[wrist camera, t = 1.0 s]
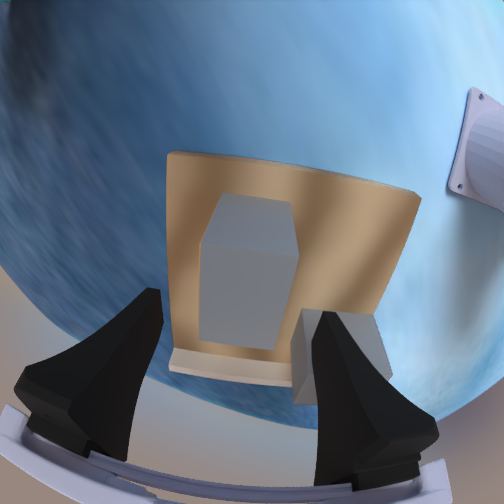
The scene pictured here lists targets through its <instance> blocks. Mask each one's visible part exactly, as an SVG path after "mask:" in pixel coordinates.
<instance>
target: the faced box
mask: <svg viewBox="0 0 504 504" xmlns="http://www.w3.org/2000/svg"><path fill="white" fill-rule="evenodd" d="M323 311H326V310H316V309H307V308H302V309H301V312H300V315H299V318H298V321H297V324H296V327H295V330H294V333H293V336H292V339H291V342H290V347H291V369H292V395H293V404H303V405H318V404H317V396H316V389H315V381H314V375H313V367H312V357H311V340H312V338H313V335H314V333H315V330H316V328H317V325H318V323H319V320H320V317H321V315H322V312H323ZM332 312H336V313H337V314H338V316H339V317H340V319H341V320H342V322H343V323H344V325H345V327H346V328H347V330H348V331H349V333H350V334H351V336H352V337H353V339H354V340H355V342H356V343H357V345H358V346H359V347H360V349H361V350H362V352H363V353H364V354H365V356H366V357H367V358H368V360H369V361H370V362H371V363H372V365H373V366H374V367H375V368H376V369H377V370H378V372H379V373H380V374H381V375H382V376H383V377H384V378H385V379H386V380H387V381H388V380H389V379H390V378H391V377H392V375H393V373H392V370H391V366H390V363H389V360H388V357H387V354H386V351H385V348H384V345H383V342H382V339H381V336H380V333H379V330H378V327H377V324H376V322H375V319H374V316H373V315H372V314H359V313H348V312H337V311H332Z"/></svg>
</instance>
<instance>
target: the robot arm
mask: <svg viewBox="0 0 504 504" xmlns="http://www.w3.org/2000/svg"><path fill="white" fill-rule="evenodd" d="M479 94H480V96H481V99H479ZM459 184H460V187H459V188H458V185H459ZM448 187H449V189H450V190H452V191H453V192H456V193H458V194H461V195H464V196H466V197H469V198H472V199H474V200H477V201H479V202H482V203H484V204H487V205H489V206H491V207H494V208H496V209H499V210H501V211H502V212H503V213H504V106H503V105H502V104H500V103H499V102H498V101H496V100H495V99H493V98H492V97H490V96H489V95H487V94H486V93H484V92H483V91H481V90H480V89H478V88H476V87H471V88H470V90H469V95H468V102H467V107H466V113H465V118H464V123H463V128H462V132H461V137H460V141H459V145H458V149H457V153H456V157H455V161H454V164H453V168H452V171H451V175H450V178H449V181H448ZM163 323H164V320H163V312H162V303H161V294H160V290H159V289H153V288H148V287H147V288H146V289H145V290H144V291H143V292H142V293H141V294H140V295H138V296H137V297H136V298H135V299H134V300H133V301H132V302H131V303H130V304H129V305H128V306H127V307H125V308H124V309H123V310H122V311H121V312H120V313H119V314H117V315H116V316H115V317H114V318H113V319H112V320H110V321H109V322H108V323H107V324H105V325H104V326H103V327H102V328H100V329H99V330H98V331H96V332H95V333H94V334H92V335H91V336H89V337H88V338H86V339H85V340H83V341H81V342H80V343H78V344H76V345H75V346H73V347H71V348H69V349H67V350H66V351H64V352H61V353H59V354H57V355H55V356H53V357H51V358H48V359H46V360H43V361H41V362H37V363H35V364H32V365H29V366H26V367H25V369H24V371H23V373H22V374H21V376H20V378H19V380H18V381H17V383H16V385H15V387H14V392H15V394H16V395H17V397H18V398H19V399H20V400H21V401H22V403H23V404H24V405H25V406H26V407H27V408H28V409H29V410H30V411H31V412H32V413H31V416H30V417H28V416H27V415H26V414H24V413H23V412H21V411H20V410H18V409H16V408H15V407H13V406H11V405H10V404H6V406H5V408H4V410H3V412H2V414H1V416H0V454H1V455H2V456H4V457H5V458H7V459H8V460H9V461H11V462H12V463H13V464H15V465H16V466H18V467H19V468H21V469H22V470H24V471H25V472H27V473H28V474H29V475H31V476H33V477H34V478H36V479H37V480H39V481H41V482H42V483H44V484H46V485H47V486H49V487H51V488H52V489H55V490H56V491H58V492H60V493H62V494H64V495H65V496H67V497H69V498H71V499H73V500H75V501H77V502H80V503H81V504H184V503H178V502H173V501H168V500H163V499H159V498H157V496H156V495H155V494H153V493H151V492H148V491H147V490H146V488H145V487H142V486H139V485H136V484H134V483H131V482H128V481H126V480H129V481H133V482H136V483H139V484H143V485H146V486H150V487H154V488H158V489H162V490H166V491H170V492H175V493H180V494H186V495H190V496H196V497H202V498H209V499H217V500H226V501H235V502H249V503H307V504H451V503H452V502H453V500H452V494H451V488H450V484H449V478H448V473H447V469H446V464H445V460H444V459H443V458H442V459H439V460H436V461H433V462H429V463H426V464H423V465H421V466H419V465H418V461H420V460H421V455H420V452H422V451H423V450H425V449H426V448H427V447H429V446H430V445H432V444H433V443H434V442H436V440H437V439H438V437H439V432H438V428H437V425H436V421H435V419H434V417H432V416H431V415H429V414H428V413H426V412H424V411H423V410H421V409H420V408H418V407H417V406H416V405H414V404H413V403H412V402H410V401H409V400H408V399H407V398H405V397H404V396H403V395H402V394H401V393H399V392H398V391H397V390H396V389H395V388H394V387H393V386H392V385H391V384H390V383H389V382H388V381H387V380H386V379H385V378H384V377H383V376H382V375H381V374H380V373H379V372H378V370H377V369H376V368H375V367H374V366H373V365H372V363H371V362H370V361H369V360H368V358H367V357H366V356H365V354H364V353H363V352H362V350H361V349H360V347H359V346H358V345H357V343H356V342H355V340H354V339H353V337H352V336H351V334H350V333H349V331H348V330H347V328H346V327H345V325H344V323H343V322H342V320H341V319H340V317H339V316H338V314H337V313H336V312H332V311H323V312H322V315H321V317H320V320H319V323H318V325H317V328H316V330H315V333H314V335H313V338H312V340H311V357H312V367H313V375H314V381H315V389H316V396H317V404H318V447H317V462H316V471H315V479H314V486H310V487H259V486H257V487H256V486H242V485H232V484H223V483H215V482H207V481H201V480H195V479H189V478H184V477H179V476H174V475H170V474H165V473H161V472H157V471H153V470H149V469H145V468H141V467H138V466H135V465H132V464H129V463H125V461H126V460H127V453H128V446H129V438H130V432H131V426H132V421H133V416H134V411H135V406H136V403H137V399H138V395H139V391H140V387H141V384H142V381H143V378H144V376H145V373H146V371H147V368H148V366H149V363H150V361H151V359H152V356H153V354H154V351H155V349H156V346H157V344H158V341H159V338H160V334H161V331H162V327H163ZM118 477H120V478H123V479H126V480H123V479H120V478H118ZM309 502H314V503H309Z"/></svg>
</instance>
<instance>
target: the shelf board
mask: <svg viewBox="0 0 504 504" xmlns="http://www.w3.org/2000/svg"><path fill="white" fill-rule="evenodd" d="M222 193H231V194H238V195H246V196H253V197H260V198H267V199H274V200H280V201H287V202H290V204H291V209H292V215H293V221H294V227H295V233H296V239H297V245H298V251H299V260H298V264H297V268H296V271H295V275H294V279H293V283H292V287H291V290H290V294H289V298H288V301H287V305H286V309H285V312H284V316H283V319H282V323H281V326H280V330H279V333H278V337H277V340H276V343H275V347H274V350H265V349H256V348H248V347H240V346H233V345H226V344H219V343H213V342H206V341H200V340H199V328H198V274H199V244H200V242H201V240H202V237H203V235H204V233H205V230H206V228H207V226H208V223H209V221H210V219H211V217H212V214H213V212H214V210H215V208H216V205H217V203H218V202H219V200H220V197H221V195H222ZM421 199H422V198H421V197H420V196H418V195H417V194H416V193H415V192H413V191H409V190H405V189H402V188H398V187H394V186H390V185H387V184H383V183H379V182H375V181H371V180H366V179H362V178H358V177H353V176H349V175H344V174H340V173H335V172H330V171H325V170H320V169H315V168H309V167H304V166H298V165H292V164H286V163H280V162H273V161H267V160H260V159H253V158H245V157H237V156H228V155H219V154H210V153H199V152H187V151H172V152H170V153H169V154H167V176H166V234H167V263H168V283H169V298H170V311H171V322H172V333H173V343H174V348H179V349H185V350H190V351H196V352H202V353H208V354H214V355H220V356H227V357H234V358H242V359H250V360H259V361H268V362H278V363H290V364H291V347H290V342H291V339H292V336H293V333H294V330H295V327H296V324H297V321H298V318H299V315H300V312H301V309H302V308H307V309H316V310H326V311H337V312H348V313H359V314H372V315H373V314H374V312H375V310H376V308H377V306H378V304H379V302H380V300H381V297H382V295H383V293H384V291H385V289H386V287H387V285H388V283H389V280H390V278H391V276H392V274H393V272H394V269H395V267H396V265H397V262H398V260H399V258H400V255H401V253H402V250H403V248H404V246H405V243H406V241H407V238H408V235H409V233H410V230H411V227H412V225H413V222H414V219H415V217H416V214H417V211H418V208H419V205H420V202H421Z"/></svg>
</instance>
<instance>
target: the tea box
mask: <svg viewBox="0 0 504 504" xmlns="http://www.w3.org/2000/svg"><path fill="white" fill-rule="evenodd" d="M298 260H299V251H298V245H297V239H296V233H295V227H294V221H293V215H292V209H291V204H290V202H287V201H280V200H274V199H267V198H260V197H253V196H246V195H238V194H231V193H222V195H221V197H220V200H219V202H218V203H217V205H216V208H215V210H214V212H213V214H212V217H211V219H210V221H209V223H208V226H207V228H206V230H205V233H204V235H203V237H202V240H201V242H200V244H199V274H198V328H199V340H200V341H206V342H213V343H219V344H226V345H233V346H240V347H248V348H256V349H265V350H274V347H275V343H276V340H277V337H278V333H279V330H280V326H281V323H282V319H283V316H284V312H285V309H286V305H287V301H288V298H289V294H290V290H291V287H292V283H293V279H294V275H295V271H296V268H297V264H298Z"/></svg>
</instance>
